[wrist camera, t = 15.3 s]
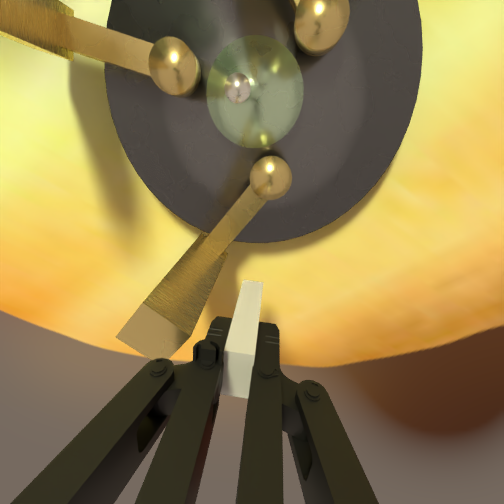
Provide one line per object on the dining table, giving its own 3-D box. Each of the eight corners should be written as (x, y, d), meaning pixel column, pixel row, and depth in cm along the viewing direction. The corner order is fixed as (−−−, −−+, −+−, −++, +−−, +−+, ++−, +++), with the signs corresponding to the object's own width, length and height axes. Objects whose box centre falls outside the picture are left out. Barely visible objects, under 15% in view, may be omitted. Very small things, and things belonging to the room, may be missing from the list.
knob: (205, 52, 15) (107, -78, 6) (196, 103, 16) (101, 52, 8) (32, -6, 15) (-325, -228, 6) (34, 50, 16) (-266, -69, 7)
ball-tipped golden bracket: (269, 146, 17) (261, 146, 8) (299, 174, 18) (323, 203, 9) (183, 254, 21) (113, 335, 12) (210, 275, 21) (162, 367, 12)
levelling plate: (408, -182, 12) (438, -256, 10) (410, 209, 20) (428, 218, 17) (65, -32, 16) (29, -63, 13) (174, 255, 23) (163, 267, 21)
